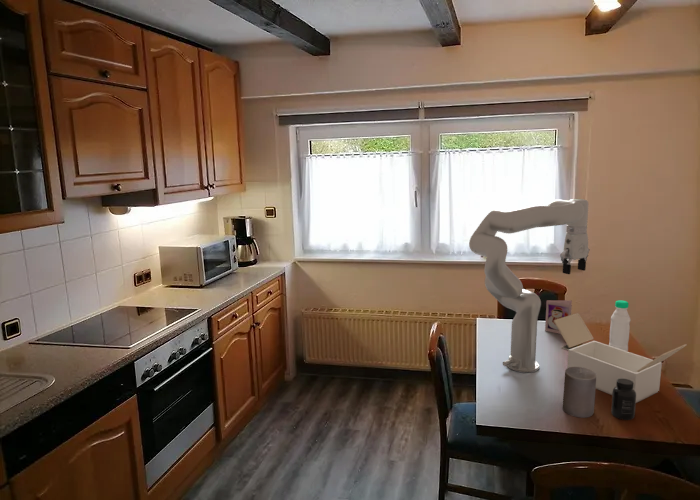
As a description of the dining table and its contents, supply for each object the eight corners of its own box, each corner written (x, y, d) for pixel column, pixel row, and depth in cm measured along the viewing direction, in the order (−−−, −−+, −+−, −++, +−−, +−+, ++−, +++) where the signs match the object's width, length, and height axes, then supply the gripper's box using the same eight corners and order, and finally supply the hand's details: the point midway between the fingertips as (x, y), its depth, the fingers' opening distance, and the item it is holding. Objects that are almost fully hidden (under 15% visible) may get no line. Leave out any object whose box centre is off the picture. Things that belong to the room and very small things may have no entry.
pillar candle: (557, 404, 178) (559, 363, 175) (584, 402, 179) (587, 362, 176) (571, 419, 169) (573, 376, 166) (600, 417, 169) (603, 374, 166)
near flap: (636, 371, 175) (637, 372, 175) (662, 354, 167) (663, 355, 167) (660, 360, 183) (661, 361, 182) (686, 343, 175) (687, 345, 174)
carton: (633, 404, 177) (636, 374, 175) (566, 376, 198) (568, 349, 196) (658, 391, 185) (661, 362, 183) (592, 366, 207) (593, 340, 205)
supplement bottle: (636, 414, 170) (640, 380, 168) (631, 423, 165) (634, 388, 163) (614, 408, 175) (617, 374, 172) (608, 416, 170) (610, 382, 167)
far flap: (554, 320, 201) (553, 320, 201) (570, 347, 196) (569, 347, 197) (578, 312, 208) (577, 313, 209) (593, 338, 204) (593, 339, 204)
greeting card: (544, 331, 246) (545, 300, 243) (549, 326, 252) (551, 297, 249) (569, 336, 239) (571, 305, 236) (574, 331, 244) (576, 301, 241)
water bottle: (608, 355, 217) (612, 297, 212) (627, 358, 213) (632, 300, 208) (606, 361, 211) (611, 302, 206) (626, 364, 208) (631, 304, 203)
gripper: (571, 233, 199) (568, 277, 203) (598, 229, 208) (595, 270, 212) (554, 231, 206) (552, 273, 209) (581, 226, 214) (578, 266, 218)
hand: (574, 271), depth 210 cm, fingers open, 9 cm apart
